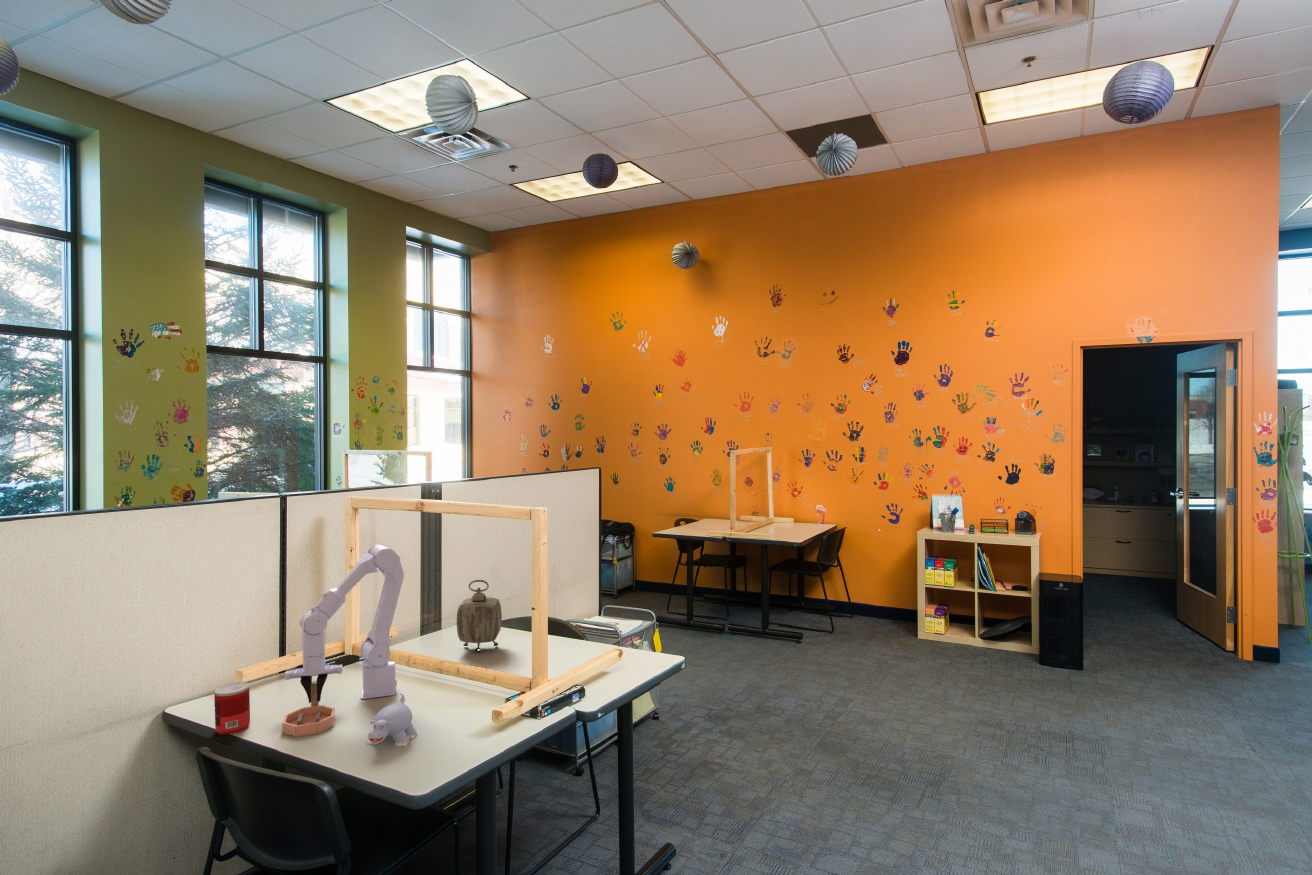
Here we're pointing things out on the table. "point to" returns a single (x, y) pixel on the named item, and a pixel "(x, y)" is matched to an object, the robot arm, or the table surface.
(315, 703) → the brown rectangular block
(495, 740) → the table surface
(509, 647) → the table surface
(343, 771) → the table surface
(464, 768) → the table surface
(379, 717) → the hippopotamus toy
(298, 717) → the dish
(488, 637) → the tabletop clock
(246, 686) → the canned food
